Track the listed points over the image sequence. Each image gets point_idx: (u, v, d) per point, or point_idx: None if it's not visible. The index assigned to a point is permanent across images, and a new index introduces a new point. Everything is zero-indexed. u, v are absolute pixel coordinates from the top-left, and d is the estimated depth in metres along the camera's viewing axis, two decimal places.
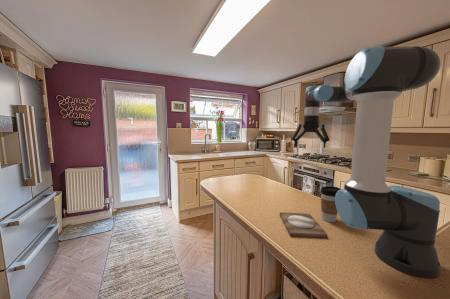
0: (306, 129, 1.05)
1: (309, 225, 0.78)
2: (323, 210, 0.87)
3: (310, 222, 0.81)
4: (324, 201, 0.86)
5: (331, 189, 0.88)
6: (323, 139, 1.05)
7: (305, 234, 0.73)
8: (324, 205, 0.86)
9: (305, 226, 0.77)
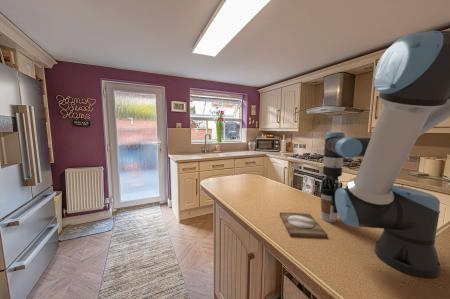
0: (324, 182, 0.89)
1: (309, 225, 0.78)
2: (323, 210, 0.87)
3: (310, 222, 0.81)
4: (324, 201, 0.86)
5: None
6: (332, 201, 0.83)
7: (305, 234, 0.73)
8: (324, 205, 0.86)
9: (305, 226, 0.77)
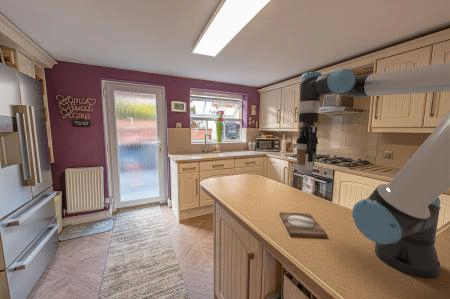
0: (301, 132, 0.81)
1: (309, 225, 0.78)
2: (298, 162, 0.79)
3: (310, 222, 0.81)
4: (299, 151, 0.78)
5: None
6: (307, 149, 0.75)
7: (305, 234, 0.73)
8: (299, 156, 0.78)
9: (305, 226, 0.77)
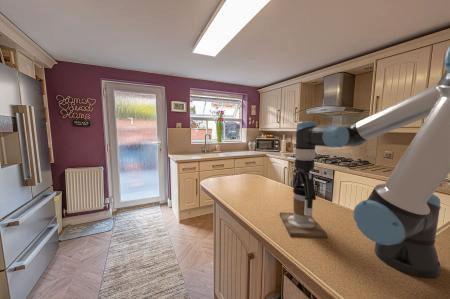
0: (297, 175, 0.83)
1: (309, 225, 0.78)
2: (295, 211, 0.81)
3: (310, 222, 0.81)
4: (296, 201, 0.80)
5: None
6: (306, 195, 0.74)
7: (305, 234, 0.73)
8: (296, 205, 0.80)
9: (305, 226, 0.77)
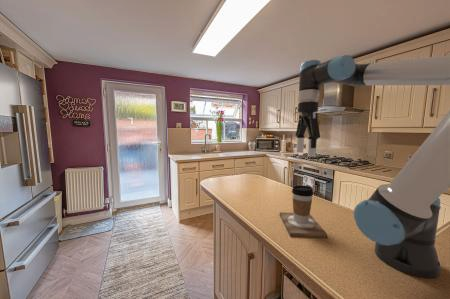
0: (300, 121, 0.80)
1: (309, 225, 0.78)
2: (294, 211, 0.81)
3: (310, 222, 0.81)
4: (295, 202, 0.80)
5: (303, 188, 0.82)
6: (309, 135, 0.71)
7: (305, 234, 0.73)
8: (295, 205, 0.80)
9: (305, 226, 0.77)
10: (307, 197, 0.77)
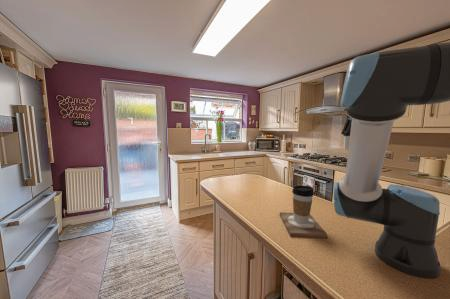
0: (350, 121, 0.87)
1: (309, 225, 0.78)
2: (295, 211, 0.81)
3: (310, 222, 0.81)
4: (295, 202, 0.80)
5: (304, 188, 0.81)
6: None
7: (305, 234, 0.73)
8: (296, 206, 0.80)
9: (305, 226, 0.77)
10: (307, 197, 0.77)
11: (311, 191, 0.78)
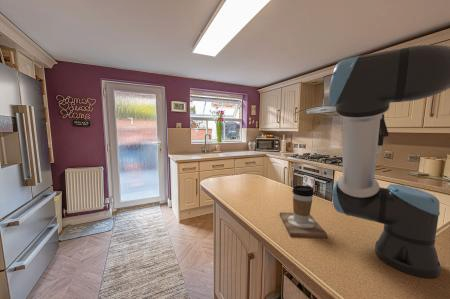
0: None
1: (309, 225, 0.78)
2: (295, 211, 0.81)
3: (310, 222, 0.81)
4: (295, 202, 0.80)
5: (304, 188, 0.82)
6: None
7: (305, 234, 0.73)
8: (296, 205, 0.80)
9: (305, 226, 0.77)
10: (307, 197, 0.77)
11: (311, 191, 0.78)
